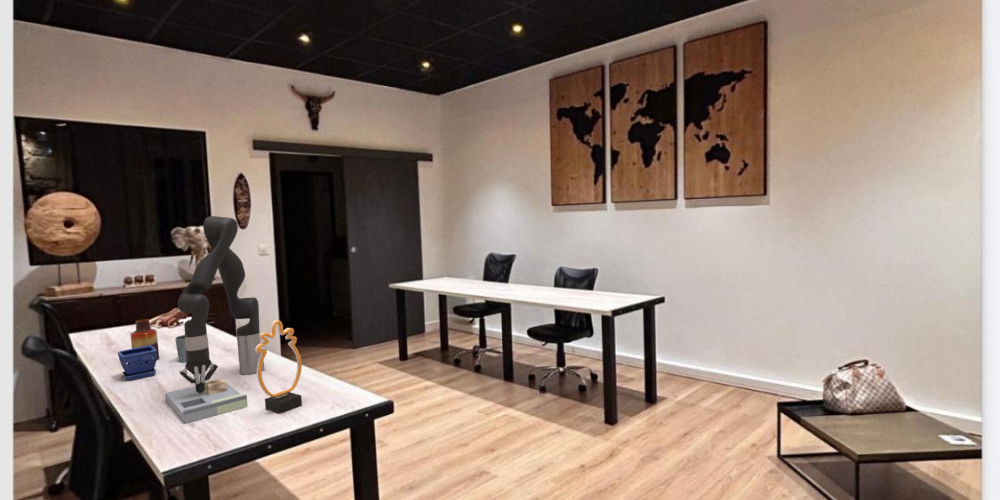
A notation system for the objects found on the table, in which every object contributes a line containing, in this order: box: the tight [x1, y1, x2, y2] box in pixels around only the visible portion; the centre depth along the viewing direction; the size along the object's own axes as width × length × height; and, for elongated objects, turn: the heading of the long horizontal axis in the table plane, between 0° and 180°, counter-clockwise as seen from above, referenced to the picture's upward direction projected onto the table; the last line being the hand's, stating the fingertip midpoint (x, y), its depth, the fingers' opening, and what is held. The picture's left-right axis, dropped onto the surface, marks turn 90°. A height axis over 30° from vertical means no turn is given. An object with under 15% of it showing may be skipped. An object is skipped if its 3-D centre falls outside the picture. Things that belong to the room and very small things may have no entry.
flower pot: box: [117, 345, 157, 381], centre depth 232 cm, size 13×13×12 cm
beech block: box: [205, 378, 227, 395], centre depth 199 cm, size 6×6×4 cm
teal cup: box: [174, 334, 186, 364], centre depth 256 cm, size 10×10×12 cm
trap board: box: [165, 382, 249, 424], centre depth 194 cm, size 20×32×4 cm, turn 42°
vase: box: [130, 318, 160, 361], centre depth 258 cm, size 11×11×20 cm
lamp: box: [255, 319, 303, 415], centre depth 186 cm, size 17×9×32 cm, turn 145°
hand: (200, 392), depth 196 cm, fingers closed
